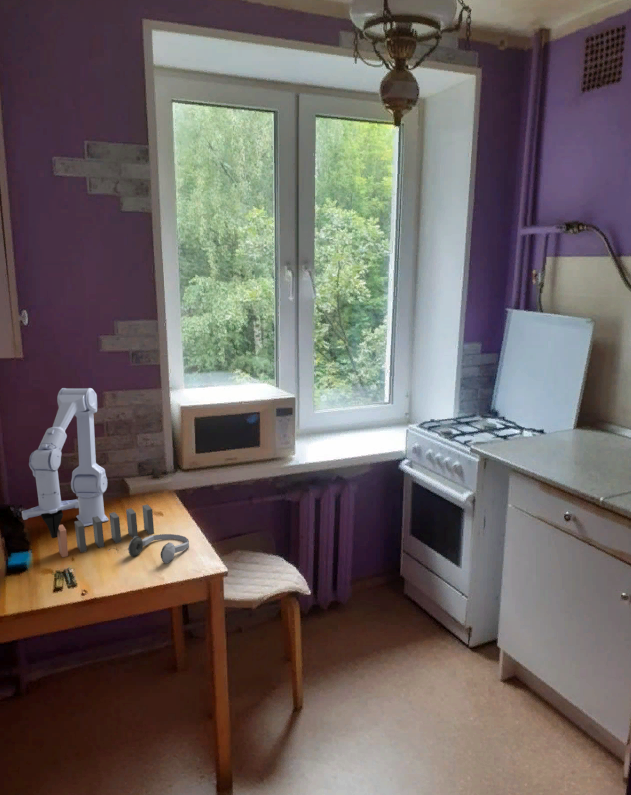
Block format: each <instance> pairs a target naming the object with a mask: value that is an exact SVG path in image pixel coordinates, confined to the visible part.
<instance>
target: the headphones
mask: <svg viewBox="0 0 631 795" xmlns="http://www.w3.org/2000/svg"><path fill="white" fill-rule="evenodd" d="M159 540H165V541H166V540H168V541H169V540H175V541H177V540H178V541H182V542H183V543H180V544H177V545H175V544H174V543H172V542H168V543H166V544H164V546H163V547H162V549H161V552H160V559H161V562H163V563H164V564H169V563H170V562H172V560H173V559H174V557H175V554H177V553H180V552H183V551H185V550H186V549H188V548H189V547H190V541H189V538H187V537H186V536H183V535H180V534H173V533H172V534H171V533H166V534H165V533H162V534H150V535H149V536H147V537H146V536H145V537H144V538H142V537H141V536H139V535H138V536H136V537H134V538H133V539H132V538H131V540H130V542H129V544H128V548H127V549H125V551H127V550H128V554H129V555H130V556H131V557H133V558H134V557H136V556H138V555H140V554H141V552H142V551H143V549H144V547H145V546H147V545H149V544H151V543H152V542H154V541H159ZM111 549H112V550H113V549H114V550H116V551H118V549H117V548H115V547H113V548H112V547H111V548H109V549H108V550H107V552H109V551H110V550H111Z"/></svg>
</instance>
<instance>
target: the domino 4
mask: <svg viewBox="0 0 631 795" xmlns="http://www.w3.org/2000/svg"><path fill="white" fill-rule="evenodd" d="M109 522H110V523H109V524H110V534H111V539H112V540H113V542H114V543H115V544H120V543H122V531H121V523H120V516H119V515H118V514H117V513H116V512H115V511H114V512H109Z"/></svg>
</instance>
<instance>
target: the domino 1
mask: <svg viewBox="0 0 631 795" xmlns="http://www.w3.org/2000/svg"><path fill="white" fill-rule="evenodd" d="M67 536H68V535H67V529H66V527H65V526H64V524H60V525H59V528H58V535H57V545H58V553H59V555H60V556H61V558H66V557H69V547H68V537H67Z"/></svg>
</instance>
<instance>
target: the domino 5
mask: <svg viewBox="0 0 631 795" xmlns="http://www.w3.org/2000/svg"><path fill="white" fill-rule="evenodd" d="M125 513H126V523H127V524H126V525H127V531H128V532H127V533H128V536H130V538H131V539H132V538H134V537H136V536H139V534H138V523H137V522H138V520H137V513H136V511H135V510H134V509H133V508H132V507H130V508H126V511H125Z"/></svg>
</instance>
